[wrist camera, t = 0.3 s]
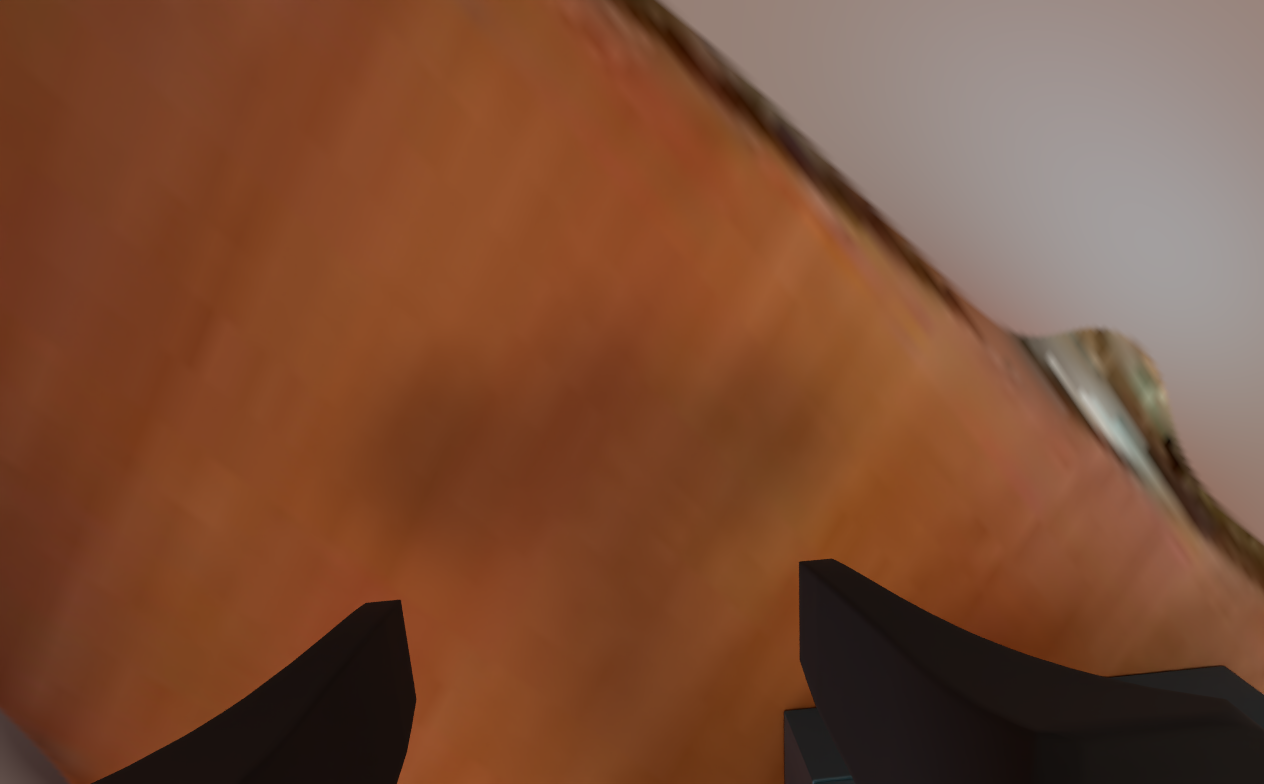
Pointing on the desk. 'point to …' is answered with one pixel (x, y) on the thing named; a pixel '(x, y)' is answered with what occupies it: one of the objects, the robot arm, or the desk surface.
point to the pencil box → (825, 780)
